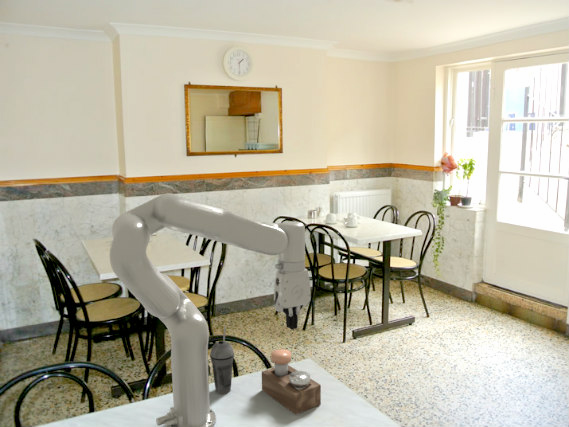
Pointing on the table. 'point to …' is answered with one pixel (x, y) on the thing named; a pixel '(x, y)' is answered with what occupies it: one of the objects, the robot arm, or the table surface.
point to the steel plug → (299, 379)
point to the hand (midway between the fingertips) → (291, 327)
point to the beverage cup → (222, 365)
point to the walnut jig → (291, 391)
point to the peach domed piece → (281, 361)
